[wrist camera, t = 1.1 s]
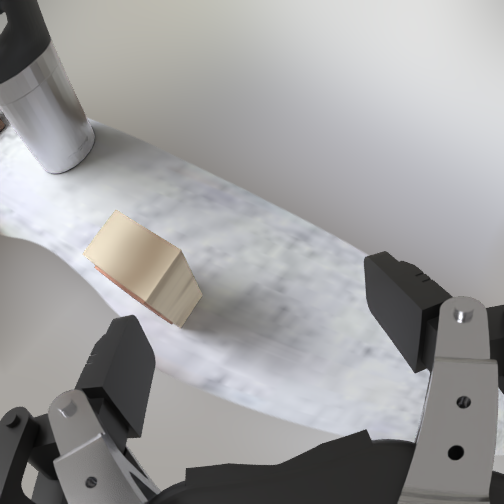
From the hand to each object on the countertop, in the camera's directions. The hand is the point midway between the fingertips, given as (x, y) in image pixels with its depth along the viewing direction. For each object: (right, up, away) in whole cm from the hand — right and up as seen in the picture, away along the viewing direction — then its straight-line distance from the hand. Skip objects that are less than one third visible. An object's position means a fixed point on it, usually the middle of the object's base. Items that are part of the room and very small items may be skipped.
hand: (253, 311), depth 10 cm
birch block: (-9, -2, +21) cm, 22 cm away
